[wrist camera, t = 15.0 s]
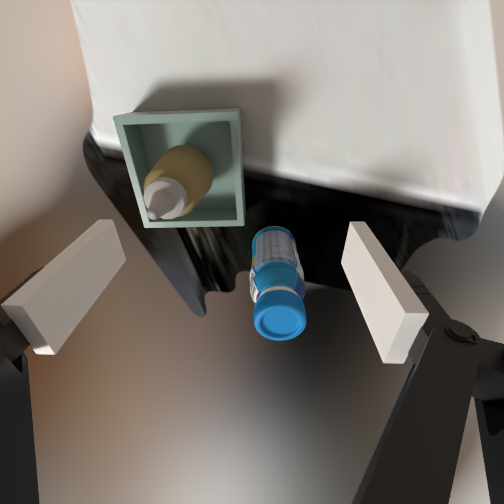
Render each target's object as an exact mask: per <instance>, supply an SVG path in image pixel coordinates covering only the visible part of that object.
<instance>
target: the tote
mask: <svg viewBox="0 0 504 504" xmlns="http://www.w3.org/2000/svg"><path fill="white" fill-rule="evenodd" d="M113 119H114V123H115V126H116V130H117V133H118V137H119V140H120V143H121V147H122V150H123V154H124V157H125V161H126V164H127V168H128V171H129V175H130V178H131V182H132V185H133V189H134V192H135V196H136V199H137V203H138V206H139V210H140V213H141V217H142V220H143V223H144V227H145V228H161V227H210V226H244V221H245V213H246V205H245V186H244V167H243V149H242V130H241V111H240V108H225V109H199V110H174V111H149V112H131V113H126V114H122V115H117V116H113ZM176 145H188V146H191V147H194V148H196V149H199V150H200V151H201V152H202V153H203V154H204V155H205V156H206V157H207V158H208V160H209V162H210V164H211V166H212V167H213V176H214V179H213V183H212V186H211V189H210V190H209V191H208V192H207V193H206V194H205V195H204V197H203V198H202V199H201V200H200V201H199V202H198V203H197V204H196V206H195V207H194V208H193V209H192V210H191V211H190V212H189V213H188V214H186V215H183V216H181V217H176V218H173V219H162V218H158V219H156V220H152V219H150V218H149V217H148V216H147V211H148V208H147V207H146V205H145V202H144V198H143V197H144V183H145V178H146V177H147V175H148V174H149V173H150V171H151V170H152V169H153V167H154V166H155V165H156V163H157V162H158V161H159V160H160V158H161V157H162V156H163V154H164V153H165V152H166V150H168V149H170V148H172V147H174V146H176Z"/></svg>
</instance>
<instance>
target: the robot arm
mask: <svg viewBox="0 0 504 504" xmlns="http://www.w3.org/2000/svg"><path fill="white" fill-rule="evenodd" d="M125 261H126V258H125V255H124V253H123V250H122V247H121V244H120V241H119V238H118V235H117V232H116V229H115V226H114V223H113V220H98V221H97V222H96V223H95V224H94V225H92V226H91V227H90V228H89V229H88V230H87V231H86V232H84V233H83V234H82V235H81V236H80V237H79V238H78V239H76V240H75V241H74V242H73V243H72V244H71V245H69V246H68V247H67V248H66V249H65V250H64V251H62V252H61V253H60V254H59V255H58V256H57V257H55V259H53V260H52V261H51V262H50V263H49V264H47V265H46V266H44V267H42V268H40V269H39V270H37V271H35V272H33V273H32V274H31V275H30V276H29V277H27V278H26V279H25V280H24V282H21V283H20V284H19V285H18V286H17V287H16V288H15V289H13V290H12V291H11V292H9V293H8V294H7V295H6V296H5V297H4V298H2V299H1V300H0V504H39V492H38V480H37V469H36V456H35V445H34V433H33V420H32V410H31V409H32V408H31V396H30V384H29V372H28V360H27V357H26V355H25V353H24V351H25V350H26V348H27V347H28V346H29V345H31V347H32V348H33V350H34V351H35V352H36V353H37V354H56V353H57V351H58V350H59V349H60V347H61V346H62V345H63V343H64V342H65V341H66V339H67V338H68V337H69V335H70V334H71V333H72V331H73V330H74V328H75V327H76V326H77V325H78V323H79V322H80V321H81V319H82V318H83V317H84V315H85V314H86V313H87V311H88V310H89V309H90V307H91V306H92V305H93V303H94V302H95V301H96V299H97V298H98V297H99V295H100V294H101V293H102V291H103V290H104V289H105V287H106V286H107V285H108V283H109V282H110V281H111V279H112V278H113V277H114V275H115V274H116V273H117V271H118V270H119V269H120V267H121V266H122V265H123V263H124V262H125ZM341 264H342V266H343V268H344V271H345V273H346V276H347V278H348V280H349V283H350V285H351V287H352V290H353V292H354V294H355V297H356V299H357V301H358V304H359V306H360V309H361V311H362V313H363V316H364V318H365V320H366V323H367V325H368V328H369V330H370V332H371V335H372V337H373V339H374V342H375V344H376V347H377V349H378V351H379V353H380V356H381V358H382V361H383V363H404V361H405V359H406V358H407V356H408V354H409V355H410V357H411V359H412V361H413V366H412V367H411V369H410V371H409V373H408V375H407V376H406V378H405V380H406V381H405V383H404V385H403V387H402V390H401V392H400V394H399V397H398V399H397V401H396V403H395V406H394V408H393V411H392V412H391V415H390V417H389V419H388V422H387V424H386V426H385V428H384V431H383V433H382V435H381V437H380V440H379V442H378V444H377V446H376V449H375V451H374V454H373V456H372V458H371V460H370V462H369V465H368V467H367V469H366V472H365V474H364V476H363V478H362V481H361V483H360V485H359V488H358V490H357V492H356V494H355V497H354V499H353V501H352V503H351V504H448V503H449V498H450V493H451V489H452V484H453V479H454V475H455V470H456V465H457V461H458V456H459V451H460V446H461V441H462V437H463V432H464V427H465V423H466V418H467V414H468V409H469V404H470V400H471V396H472V397H474V400H475V407H476V413H477V419H478V426H479V432H480V439H481V445H482V451H483V458H484V464H485V471H486V477H487V483H488V490H489V496H490V503H491V504H504V344H502V343H498V342H494V341H490V340H486V339H482V338H480V337H479V335H478V334H477V332H475V331H474V330H473V329H471V327H469V326H467V325H465V324H463V323H462V322H459V321H456V320H453V319H451V318H450V317H449V316H448V314H447V313H446V312H445V311H444V309H443V308H442V307H441V305H440V304H439V303H438V302H437V300H436V299H435V298H434V297H433V295H431V293H430V291H429V290H428V289H427V288H426V287H425V285H424V284H423V282H422V281H421V280H420V279H419V277H417V276H416V275H414V274H413V273H412V272H410V271H409V270H408V271H407V270H398V268H397V267H396V266H395V264H394V263H393V261H392V260H391V259H390V257H389V256H388V254H387V253H386V251H385V250H384V249H383V247H382V246H381V244H380V243H379V242H378V240H377V239H376V237H375V236H374V234H373V233H372V232H371V230H370V229H369V227H368V226H367V225H366V223H365V222H350V225H349V230H348V234H347V239H346V243H345V248H344V252H343V257H342V261H341Z"/></svg>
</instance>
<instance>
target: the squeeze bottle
mask: <svg viewBox="0 0 504 504" xmlns="http://www.w3.org/2000/svg"><path fill="white" fill-rule="evenodd" d="M213 179H214V176H213V167H212V166H211V164H210V162H209V160H208V158H207V157H206V156H205V155H204V154H203V153H202V152H201V151H200V150H199V149H196V148H194V147H191V146H188V145H176V146H174V147H172V148H170V149H168V150H166V152H165V153H164V154H163V156H162V157H161V158H160V160H159V161H158V162H157V163H156V165H155V166H154V167H153V169H152V170H151V171H150V173H149V174H148V175H147V177H146V178H145V183H144V197H143V198H144V202H145V205H146V207H147V208H148V211H147V216H148V217H149V218H150V219H152V220H156V219H158V218H162V219H173V218H176V217H181V216H183V215H186V214H188V213H189V212H190V211H191V210H192V209H193V208H194V207H195V206H196V204H197V203H198V202H199V201H200V200H201V199H202V198H203V197H204V195H205V194H206V193H207V192H208V191H209V190H210V189H211V186H212V183H213Z"/></svg>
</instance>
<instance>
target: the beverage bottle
mask: <svg viewBox="0 0 504 504" xmlns="http://www.w3.org/2000/svg"><path fill="white" fill-rule="evenodd" d="M252 251H253V255H252V268H251V271H250V283H251V284H250V293H251V296H252V299H253V301H254V302H255V308H254V323H255V327H256V329H257V331H258V332H259V333H260V334H261V335H262V336H264V337H266V338H268V339H272V340H288V339H291V338H294V337H296V336H297V335H299V334H300V333H301V332H302V331H303V330H304V328H305V326H306V313H305V308H304V304H303V301H302V300H303V298H304V294H305V282H304V274H303V270H302V267H301V265H300V262H299V258H298V254H297V249H296V242H295V239H294V236H293V235H292V234H291V232H290V231H288V230H287V229H285V228H283V227H279V226H269V227H266V228H264V229H262V230H260V231H259V232H258V233H257V234H256V235H255V237H254V239H253V243H252Z"/></svg>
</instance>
